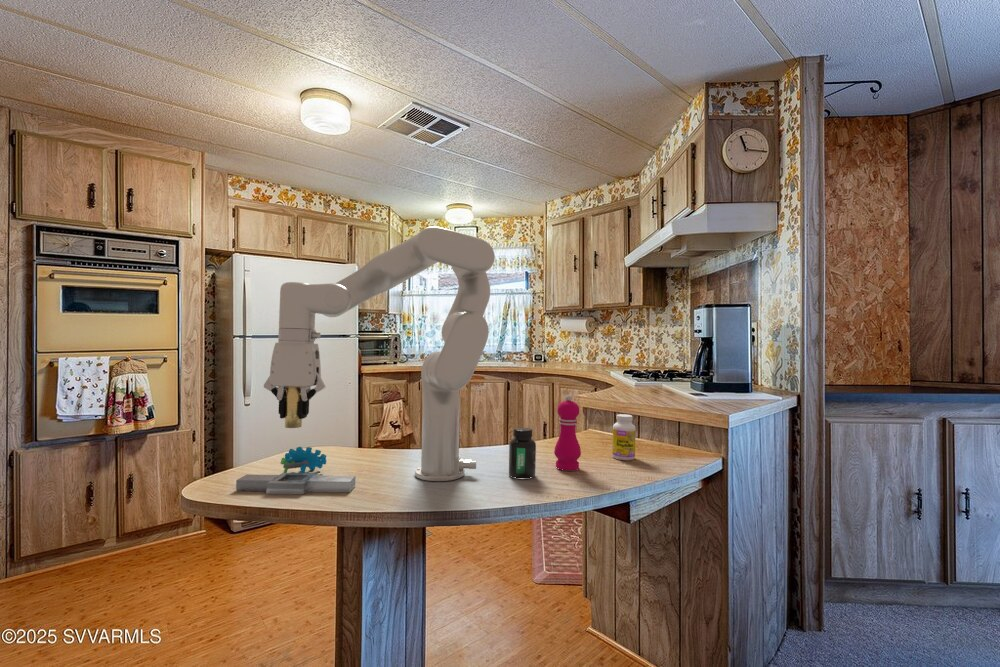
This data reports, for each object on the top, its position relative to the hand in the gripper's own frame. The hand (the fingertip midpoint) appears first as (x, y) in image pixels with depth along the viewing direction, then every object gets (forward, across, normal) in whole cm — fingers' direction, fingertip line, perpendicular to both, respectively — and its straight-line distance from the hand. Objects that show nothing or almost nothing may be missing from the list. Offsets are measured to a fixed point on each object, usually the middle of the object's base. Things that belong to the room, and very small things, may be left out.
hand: (293, 416), depth 107 cm
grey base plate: (+16, 0, 0) cm, 16 cm away
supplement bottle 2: (+16, -85, -33) cm, 93 cm away
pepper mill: (+16, -66, -21) cm, 71 cm away
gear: (+17, +2, -12) cm, 20 cm away
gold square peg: (+2, 0, 0) cm, 2 cm away
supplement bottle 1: (+16, -53, -13) cm, 57 cm away
